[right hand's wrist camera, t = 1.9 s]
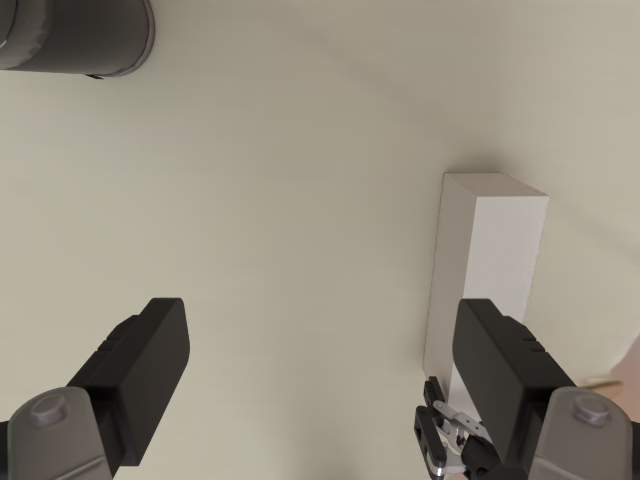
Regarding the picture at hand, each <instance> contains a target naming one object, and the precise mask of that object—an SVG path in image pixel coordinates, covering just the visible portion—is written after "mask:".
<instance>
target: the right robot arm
mask: <svg viewBox="0 0 640 480" xmlns="http://www.w3.org/2000/svg"><path fill="white" fill-rule="evenodd" d="M154 32H155V28H154V18H153V13H152V10H151V7H150V4H149V1H148V0H0V70H14V71H33V72H52V73H70V74H84V75H87V76H90V77H92V78H95V79H103V78H100V77H98V76H106V77H117V76H123V75H126V74H129V73H131V72H133V71H134V70H136V69H137V68H139V67H140V66H141V65H142V64H143V62H144V61H145V60H146V58H147V57H148V55H149V53H150V51H151V48H152V45H153V41H154ZM95 75H97V76H95ZM189 353H190V342H189V335H188V328H187V322H186V315H185V308H184V303H183V301H182V299H181V298H153V299H151V300H150V302H149V303H148V304H147V306H146V307H145V308H144V309H143V311H142V312H141V313H140V314H139V315H132V316H131V317H129V318H128V319H126V320H125V321H123V322H122V323H120V324H119V325H117V326H116V327H115V328H114V330H113V331H112V332H111V333H110V334H109V335H108V337H107V338H106V340H104V341H103V343H102V344H101V345H100V346H99V347H98V350H97V351H95V352H94V353H93V354H92V356H91V357H90V358H89V359H88V360H87V362H86V363H85V364H84V365H83V366H82V367H81V369H80V370H79V371H78V372H77V373H76V375H75V376H74V377H73V378H72V379H71V381H70V382H69V383H68V384H67V385H66V386H65V387H60V388H56V389H52V390H49V391H47V392H44V393H42V394H40V395H38V396H36V397H34V398H32V399H31V400H29V401H27V402H26V403H25V404H23V405H22V406H21V407H20V408H19V409H18V410H17V411H16V412H15V413H14V414H13V415H12V417H11V419H10V420H9V421H5V422H0V480H113V478H114V476H115V474H116V472H117V470H118V468H119V466H139V464H140V462H141V460H142V458H143V456H144V454H145V452H146V449H147V447H148V445H149V443H150V441H151V439H152V437H153V435H154V433H155V431H156V428H157V426H158V424H159V422H160V420H161V418H162V416H163V414H164V412H165V410H166V407H167V405H168V403H169V401H170V399H171V397H172V395H173V393H174V391H175V389H176V386H177V384H178V382H179V380H180V378H181V376H182V374H183V372H184V370H185V367H186V365H187V363H188V359H189ZM452 354H453V360H454V363H455V366H456V368H457V370H458V372H459V374H460V377H461V379H462V381H463V383H464V385H465V387H466V389H467V391H468V393H469V395H470V397H471V399H472V401H473V404H474V406H475V408H476V410H477V412H478V414H479V416H480V418H481V420H482V422H483V424H484V426H485V428H486V430H487V433H488V435H489V437H490V439H491V441H492V443H493V445H494V447H495V449H496V451H497V453H498V455H499V457H500V460H501V462H502V464H503V466H504V468H524V470H525V471H526V473H527V475H528V479H527V480H640V423H637V422H633V421H631V420H630V419H629V417H628V415H627V414H626V413H625V412H624V411H623V410H622V409H621V408H620V407H619V406H618V405H617V404H615V403H614V402H612V401H611V400H609V399H608V398H606V397H604V396H602V395H600V394H598V393H596V392H593V391H591V390H588V389H584V388H580V387H577V386H576V385H575V384H574V383H573V381H572V380H571V379H570V378H569V377H568V376H567V374H566V373H565V372H564V371H563V370H562V368H561V367H560V366H559V365H558V364H557V363H556V361H555V360H554V359H553V358H552V357H551V356H550V354H549V353H548V352H545V349H544V347H543V346H542V345H541V344H540V343H539V341H536V338H535V337H534V336H533V334H532V333H531V332H530V331H529V330H528V329H527V327H526V326H524V325H523V324H521V323H520V322H518V321H517V320H515V319H514V318H512V317H510V316H503V315H502V313H501V312H500V311H499V310H498V308H497V307H496V306H495V305H494V303H493V302H492V301H491V300H490V299H488V298H462V299H461V300H460V301H459V304H458V309H457V316H456V323H455V329H454V336H453V342H452Z"/></svg>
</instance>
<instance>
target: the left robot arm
mask: <svg viewBox="0 0 640 480" xmlns="http://www.w3.org/2000/svg"><path fill="white" fill-rule="evenodd" d="M423 395H424V398H425V401H426V405H427V407H425V406H418V407H417V408H416V415H415V423H414V431H415V434H416V436H417V439H418V442H419V445H420V448H421V451H422V454H423V457H424V460H425V463H426V466H427V469H428V472H429V475H430V477H431V479H432V480H443V479H444V474H452V473H463V475H464V476H465V477H466V478H467V479H468V480H527V479H528V475H527V473H526V471H525V470H524V468H504V466H503V464H502V462H501V460H500V457H499V455H498V453H497V451H496V449H495V447H494V445H493V443H492V441H491V439H490V437H489V435H488V433H487V430H486V428H485V426H484V424H483V422H482V421H479V423H478V422H476V421H475V420H474V419H472V418H471V417H469V416H468V415H467V414H465V413H464V412H459V413H458V412H456V411H455V410H453V409H452V408H451V407H449V406H448V405H447V404H445V401H446V400H445V398H444V395H443V392H442V390H441V387H440V385H439V382H438V379H437V377H436V376H429V379H428V381H425V385H424V394H423ZM444 419H445V420H447V421H448V422H449V423H450V424H449V423H448V422H447V421H445V420H444ZM437 430H438V431H439V432H440V433H441V434H443V435H444V436H445V437H446V438H447V439H448V442H449V444H450V445H451V446H452V447H453V448H454V449H456V450H457V451H458V452H459V453H461V456H458V455H455V454H454V453H452V451H451V450H450V448H449V447H448V444H447V443H445V442H443V443H442V442H441V439H440V437H439V434H438V432H437ZM464 430H465V431H467V432H468V433H469V436H468V438H467V441H466V439H465V438H464Z"/></svg>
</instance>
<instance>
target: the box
mask: <svg viewBox="0 0 640 480" xmlns="http://www.w3.org/2000/svg"><path fill="white" fill-rule="evenodd" d="M549 200H550V196H549V195H547V194H545V193H543V192H540V191H538V190H536V189H534V188H532V187H530V186H528V185H526V184H524V183H522V182H519V181H517V180H515V179H513V178H511V177H509V176H507V175H505V174H503V173H444V176H443V185H442V195H441V204H440V213H439V222H438V231H437V241H436V250H435V259H434V268H433V278H432V287H431V296H430V305H429V315H428V324H427V333H426V342H425V352H424V361H423V371H424V374H425V376H426V379H427V381H428V379H429V376H436V377H437V379H438V382H439V385H440V387H441V390H442V392H443V395H444V398H445V400H446V401H445V404H447V405H448V406H449V407H451V408H452V409H453V410H455V411H456V412H458V413H459V412H464V413H465V414H467V415H468V416H469V417H471V418H472V419H474V420H475V421H476V422H478V423H479V421H482V420H481V418H480V416H479V414H478V412H477V410H476V408H475V406H474V404H473V401H472V399H471V397H470V395H469V393H468V391H467V389H466V387H465V385H464V383H463V381H462V379H461V377H460V374H459V372H458V370H457V368H456V366H455V363H454V360H453V354H452V342H453V336H454V329H455V323H456V316H457V309H458V304H459V301H460V300H461V299H462V298H488V299H490V300H491V301H492V302H493V303H494V305H495V306H496V307H497V308H498V310H499V311H500V312H501V313H502V315H503V316H510V317H512V318H514V319H515V320H517V321H518V322H520V323H521V324H523V321H524V316H525V312H526V307H527V302H528V298H529V293H530V288H531V284H532V279H533V274H534V270H535V265H536V260H537V256H538V251H539V246H540V242H541V237H542V232H543V228H544V223H545V218H546V214H547V209H548V204H549ZM444 420H445V419H444ZM445 421H447V420H445ZM447 422H448V421H447ZM448 423H449V422H448ZM449 424H450V423H449Z"/></svg>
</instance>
